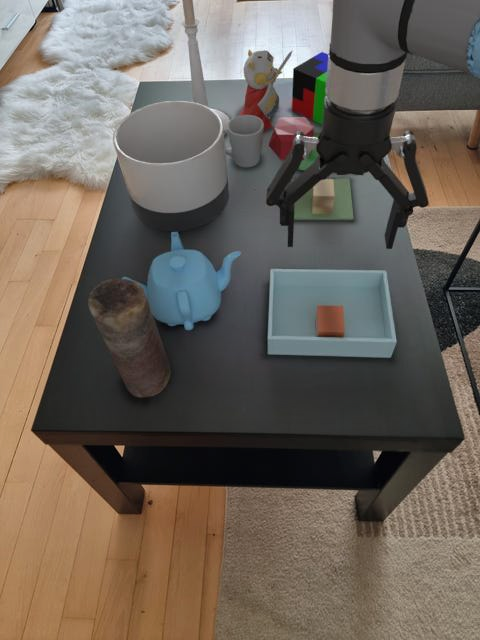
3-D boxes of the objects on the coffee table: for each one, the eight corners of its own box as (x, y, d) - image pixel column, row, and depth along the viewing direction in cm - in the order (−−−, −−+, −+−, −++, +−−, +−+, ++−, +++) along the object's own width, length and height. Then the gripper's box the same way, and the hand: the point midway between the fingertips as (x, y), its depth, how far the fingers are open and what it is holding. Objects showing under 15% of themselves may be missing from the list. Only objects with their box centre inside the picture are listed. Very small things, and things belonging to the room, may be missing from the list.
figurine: (281, 134, 111) (283, 68, 99) (233, 130, 113) (229, 65, 101) (290, 103, 118) (292, 38, 106) (245, 100, 120) (242, 36, 108)
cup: (264, 170, 103) (263, 135, 97) (218, 171, 104) (214, 136, 97) (264, 149, 108) (264, 114, 101) (220, 150, 109) (217, 115, 102)
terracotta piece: (339, 322, 79) (343, 305, 75) (341, 347, 76) (344, 331, 72) (315, 321, 79) (317, 304, 75) (315, 347, 76) (318, 331, 73)
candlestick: (226, 108, 118) (215, -35, 94) (233, 138, 111) (222, -9, 87) (175, 115, 118) (150, -28, 94) (178, 145, 110) (152, -1, 86)
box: (381, 287, 83) (386, 270, 79) (390, 357, 75) (396, 342, 71) (270, 285, 85) (270, 268, 81) (267, 354, 76) (267, 338, 73)
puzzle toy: (318, 93, 120) (322, 51, 112) (350, 107, 116) (356, 65, 108) (291, 109, 116) (293, 68, 108) (323, 125, 112) (327, 83, 104)
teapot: (187, 260, 89) (178, 214, 80) (245, 295, 84) (241, 249, 75) (127, 313, 83) (109, 270, 74) (185, 354, 77) (173, 313, 68)
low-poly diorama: (270, 135, 111) (270, 98, 104) (358, 135, 109) (364, 98, 102) (266, 176, 102) (266, 139, 95) (361, 177, 100) (369, 140, 93)
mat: (349, 180, 100) (349, 178, 100) (353, 220, 93) (353, 218, 93) (291, 180, 101) (291, 178, 101) (291, 219, 94) (291, 217, 94)
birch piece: (331, 197, 97) (333, 179, 93) (332, 214, 94) (334, 196, 90) (311, 197, 97) (312, 179, 93) (311, 214, 94) (313, 196, 90)
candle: (139, 351, 78) (104, 269, 62) (180, 363, 76) (155, 282, 60) (117, 391, 74) (73, 315, 58) (160, 405, 72) (127, 330, 56)
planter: (151, 175, 105) (132, 97, 90) (238, 182, 102) (232, 103, 87) (123, 237, 94) (96, 160, 79) (219, 247, 91) (209, 169, 76)
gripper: (476, 76, 51) (426, 223, 69) (245, 79, 54) (252, 221, 71) (492, 115, 47) (434, 262, 64) (239, 117, 49) (248, 258, 67)
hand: (338, 241), depth 68 cm, fingers open, 13 cm apart
